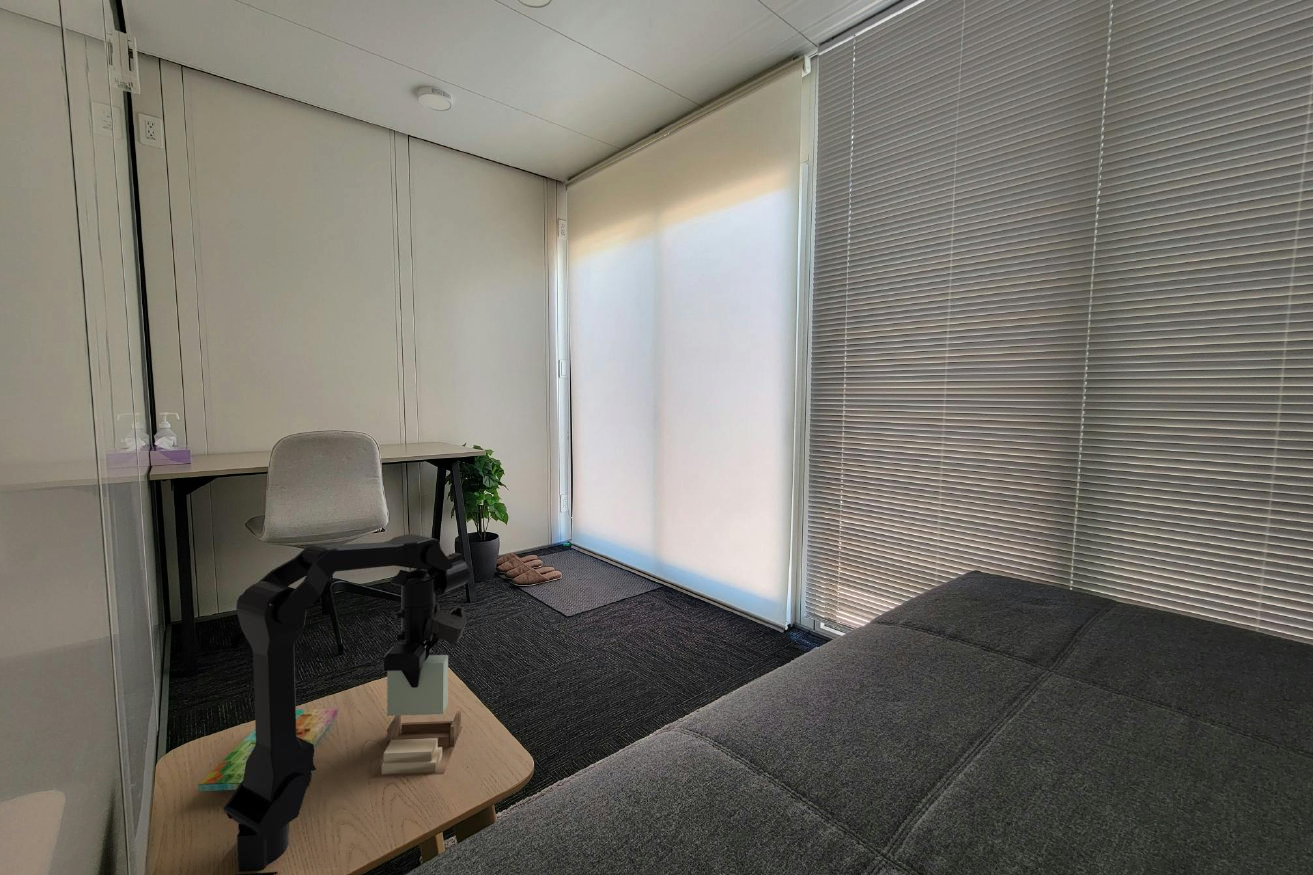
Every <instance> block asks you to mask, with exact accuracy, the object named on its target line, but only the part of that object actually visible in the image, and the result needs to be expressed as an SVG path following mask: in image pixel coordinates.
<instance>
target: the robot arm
mask: <svg viewBox="0 0 1313 875" xmlns="http://www.w3.org/2000/svg"><path fill="white" fill-rule="evenodd" d="M382 567H383V568H384V567H401V568H402V567H403V568H409V569H412V570H409V571H408V570H403V569H400V570H399V571H398V573H397V574H396V575H395V576H394V577H392V578H391V580H390V581H389V582H390V584H392V585H395V586H400V587H401V592H400V593H401V596H400V597H401V599H400V600H401V602H400V606H401V607H400V609H399V610H398V612H397V613H396V614H397V619H400V620H401V621H400V623H401V624H400V626H401V627H400V628H401V629H400V630H399V632H398V633H397V635H396V637H397V639H396V640H397V641H404V642H403V643H402V644H394V645H393V646H392V647H391V648H390V649H389V650H388V651H387V652H386V653H385V654H384V655H383V657H382V658H381V670H382V671H384V672H387V671H402V673H403V674H404V676H405V677H406V679H407V681H408V682H409V684H410V686H411V687H412V688H417V687H418V685H419V680H420V674H421V668H422V664H423V662H425V661H426V660H427V658H428V657H429V655H431V654H432V648H434V646H436V645H437V644H438V642H440V640H442V641H444V642H445V641H446V642H447V643H448V644H450V645H456V644H458V642H459V641H460V639H461V637H462V635H463V632H464V630H465V627H466V624H467V623H468V620H467V618H468V616H465V615H466V614H465V608H464V607H462V606H459V605H457V606H455V607H454V608H453V609H452V610H450V611H449V610H446V612H445V611H441V610H440V606H441V605H440V604H439V602H438V601H436V594H437V595H442V594H445V593H447V592H449V591H452V590H454V589H457V588H459V587H462V586H464V585H466V584H467V583H469V581H470V580H469V579H470V576H471V571H470V569H469V567H468V564H467V563H466V561H464V559H463V554H462V553H458V552H453V553H449V554H448V555H446V554H445V553H444V551H443V550H442V547H441V543H440V542H439V540H438V539H437V538H433V537H428V536H424V535H417V534H412V533H407V534H403V535H399V536H395V537H393V538H392V539H390V540H387V541H382V542H364V543H346V544H345V543H344V544H330V545H329V544H326V545H323V544H312V545H309V546H307V547H305V548H304V549H303V550H302V551H300V552H299V553H298V554H297V555H296V556H295V557H293V558H292V559H290V560H288V561H286V562H284V563H282V564H281V565H279V566H277V567H275V568H273V569H272V570H271V571H269V572H268V573H267V574H266V575H264V576H263V577H262V578H261V579H260V580H259V581H258V582H256V583H254V584H251V585H250V586H249V587H248V588H246V589H245V591H244V592H243V593H242V594H240V595H239V596H238V598H237V601H236V607H235V609H236V613H237V617H238V621H239V625H240V630H241V631H242V633H243V634H244V636H245V638H246V640H247V642H248V643H249V645H250V647H251V649H252V661H253V662H252V663H253V664H252V665H253V690H254V691H253V692H254V693H253V695H254V720H255V721H254V722H255V723H254V724H255V726H254V727H255V729H256V744H255V747H254V749H253V750H252V752H251V754H250V755H249V757H248V759H247V761H246V765H245V772H244V778H243V781H242V782H241V783H240V785H239V786H238V788H237V789H236V790H234V792H233V794H232V795H231V796H230V798H229V799H228V801H227V802H226V803H225V805H224V806H223V809H222V811H223V813H224V814H225V816H227V818H228V819H230V820H233V821H234V822H236V823H238V827H237V828H238V829H237V830H238V833H237V834H236V845H237V846H236V847H237V871H238V872H239V873H237V874H236V875H273V874H275V875H277V874H278V871H268V872H267V871H266V872H260V871H263V870H265V869H266V868H267V867H268V865H270V864H272V863H273V862H275V861H276V860H278V859H279V858H280V857H281V856H282V855H283V854H285V852H286V851H287V848H288V847H289V834H290V823H291V822H292V821H294V820H295V819H297V818H298V817H299V814H300V812H301V808H302V805H303V801H304V798H305V795H306V792H307V788H309V786H310V784H311V781H312V772H315V771H316V770H317V768H316V766H315V763H314V757H315V746H314V744H312V743H310V742H308V741H306V740H303V739H301V738H299V737H297V734H296V710H297V706H296V704H297V700H296V670H295V668H296V667H295V666H296V665H295V664H296V663H295V661H296V659H295V644H296V641H297V640H298V638H299V636H300V634H301V632H302V630H303V629H304V628H305V623H306V618H307V617H306V616H307V610H308V609H309V608H310V607H311V606H313V605H314V603H315V602H317V600H318V599H319V598H320V597H321V596H322V594H323V591H324V590H325V587H326V585H327V583H328V581H329V579H330V578H331V577H332V576H333V575H334V574H335V573H336V572H344V571H354V570H355V571H356V570H365V569H374V568H382ZM303 578H304V579H303ZM302 579H303V580H302ZM300 580H302V582H300V584H299V585H298V586H296V587H295V588H294V587H292V586H291V585H293V584H295V583H297V582H298V581H300ZM257 871H259V872H257ZM242 872H253V873H242Z"/></svg>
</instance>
